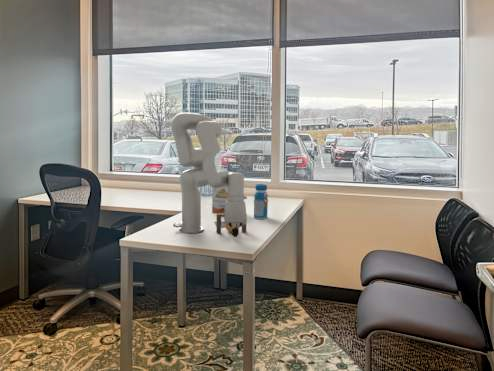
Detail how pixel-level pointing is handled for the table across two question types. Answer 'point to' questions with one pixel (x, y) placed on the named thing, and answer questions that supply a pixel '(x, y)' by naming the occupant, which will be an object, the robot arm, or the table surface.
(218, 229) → the bridge
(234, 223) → the ball
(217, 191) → the cracker box
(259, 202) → the beverage bottle
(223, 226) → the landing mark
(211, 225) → the table surface
